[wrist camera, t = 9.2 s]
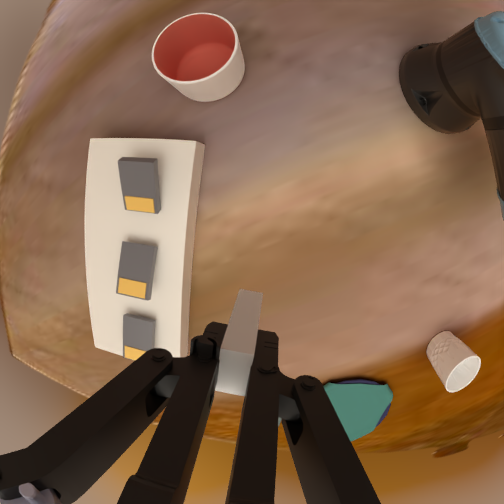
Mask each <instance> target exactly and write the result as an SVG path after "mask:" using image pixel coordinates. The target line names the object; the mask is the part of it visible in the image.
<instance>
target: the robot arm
mask: <svg viewBox="0 0 504 504" xmlns="http://www.w3.org/2000/svg"><path fill="white" fill-rule="evenodd" d="M399 76H400V83H401V87H402V91H403V93H404V96H405V98H406V100H407V102H408V104H409V105H410V107H411V108H412V110H413V111H414V113H415V114H416V115H417V116H418V117H419V118H420V119H421V120H422V121H423V122H424V123H425V124H426V125H428V126H429V127H431V128H432V129H434V130H436V131H439V132H442V133H448V134H451V133H458V132H463V131H465V130H467V129H469V128H470V127H471V126H472V125H473V124H474V123H475V122H476V121H477V120H479V119H480V118H482V121H483V125H484V128H485V132H486V136H487V139H488V143H489V148H490V152H491V156H492V161H493V166H494V171H495V176H496V182H497V195H498V197H499V199H500V205H501V211H502V217H503V220H504V12H502V11H496V12H493V13H491V14H489V15H487V16H485V17H480V18H477V19H476V20H475V21H474V22H473V23H471V24H470V25H468V26H467V27H465V28H464V29H462V30H460V31H459V32H457V33H456V34H454V35H453V36H451V37H450V38H448V39H447V40H446V41H444V42H442V43H430V44H422V45H419V46H416V47H415V48H413V49H412V50H410V51H409V52H408V53H407V54H406V55H405V56H404V57H403V59H402V61H401V64H400V70H399ZM262 296H263V293H260V292H254V291H248V290H243V289H240V290H239V293H238V296H237V299H236V302H235V305H234V308H233V311H232V314H231V317H230V320H229V324H228V325H227V324H222V323H217V322H211V323H210V324H208V325H207V326H206V328H205V331H204V333H203V335H200V336H196V337H194V338H193V339H192V340H191V348H190V356H187V357H173V356H172V354H171V353H170V352H169V351H168V350H166V349H163V348H153V349H150V350H148V351H146V352H145V353H144V354H143V355H142V356H140V357H139V358H138V359H137V360H135V361H134V362H133V363H132V364H131V365H129V366H128V367H127V368H126V369H124V370H123V371H122V372H121V373H120V374H118V375H117V376H116V377H115V378H113V379H112V380H111V381H110V382H108V383H107V384H106V385H105V386H104V387H102V388H101V389H100V390H99V391H97V392H96V393H95V394H94V395H92V396H91V397H90V398H89V399H87V400H86V401H85V402H84V403H83V404H81V405H80V406H79V407H77V408H76V409H75V410H74V411H73V412H71V413H70V414H69V415H68V416H66V417H65V418H64V419H63V420H61V421H60V422H59V423H58V424H56V425H55V426H54V427H52V428H51V429H50V430H49V431H48V432H46V433H45V434H44V435H43V436H41V437H40V438H39V439H37V440H36V441H35V442H34V443H32V444H31V445H30V446H29V447H27V448H25V449H21V450H18V451H15V452H11V453H8V454H4V455H0V502H1V504H71V503H73V502H75V501H76V500H77V499H78V498H79V497H80V496H82V495H83V494H84V493H85V492H86V491H87V490H88V489H89V488H90V487H91V486H92V485H93V484H94V483H95V482H96V481H97V480H98V479H99V478H100V477H101V476H102V475H103V474H104V473H105V472H106V471H107V470H108V469H109V468H110V467H111V466H112V465H113V464H114V463H115V461H116V460H117V459H118V458H119V457H120V456H121V455H122V454H123V453H124V452H125V451H126V450H127V449H128V448H129V446H131V444H132V443H133V442H134V441H135V440H136V439H137V438H138V437H139V436H140V435H141V433H143V431H144V430H145V429H146V428H147V427H148V426H149V425H150V424H151V423H152V422H153V420H154V419H155V418H156V417H157V416H158V415H159V414H160V413H161V412H162V410H163V409H164V408H165V407H166V408H165V411H164V413H163V415H162V417H161V420H160V422H159V424H158V426H157V428H156V431H155V433H154V435H153V438H152V440H151V442H150V444H149V446H148V449H147V451H146V453H145V456H144V458H143V460H142V462H141V464H140V467H139V469H138V471H137V473H136V474H135V475H132V476H130V478H129V479H128V481H127V482H126V485H125V487H124V489H123V491H122V494H121V496H120V498H119V500H118V503H117V504H183V503H184V500H185V496H186V492H187V489H188V486H189V482H190V479H191V475H192V472H193V468H194V465H195V461H196V458H197V454H198V451H199V448H200V444H201V441H202V437H203V434H204V430H205V427H206V423H207V420H208V416H209V413H210V409H211V406H212V402H213V399H214V391H220V392H225V393H230V394H235V395H241V396H245V398H244V403H243V408H242V412H241V413H242V414H241V420H240V426H239V431H238V437H237V443H236V448H235V454H234V459H233V465H232V470H231V475H230V481H229V486H228V491H227V497H226V502H225V504H274V494H275V477H276V460H277V440H278V417H279V418H281V421H282V425H283V428H284V431H285V435H286V438H287V441H288V444H289V448H290V451H291V454H292V458H293V460H294V464H295V467H296V470H297V474H298V476H299V480H300V483H301V486H302V489H303V493H304V496H305V499H306V502H307V504H381V503H380V501H379V499H378V497H377V495H376V493H375V491H374V488H373V486H372V484H371V483H370V480H369V478H368V476H367V474H366V472H365V470H364V468H363V466H362V464H361V462H360V460H359V458H358V456H357V454H356V452H355V450H354V448H353V446H352V444H351V442H350V439H349V437H348V435H347V433H346V431H345V429H344V427H343V425H342V423H341V421H340V419H339V417H338V415H337V413H336V411H335V409H334V407H333V405H332V403H331V401H330V399H329V397H328V395H327V393H326V391H325V389H324V387H323V385H322V383H321V382H320V381H319V380H318V379H317V378H315V377H312V376H308V375H303V376H299V377H297V378H296V379H292V378H289V377H287V376H285V375H284V374H282V373H281V372H280V370H279V367H278V340H279V338H278V336H277V335H276V333H275V332H269V331H264V330H258V325H259V318H260V311H261V304H262Z"/></svg>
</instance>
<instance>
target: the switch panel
mask: <svg viewBox="0 0 504 504" xmlns="http://www.w3.org/2000/svg"><path fill="white" fill-rule="evenodd" d="M204 151H205V144H202V143H200V142H197V141H189V140H172V139H148V138H94V139H90V146H89V155H88V165H87V177H86V193H85V260H86V277H87V289H88V299H89V308H90V316H91V324H92V330H93V337H94V343H95V347H97V348H100V349H103V350H106V351H109V352H112V353H115V354H118V355H122V356H123V315H124V314H126V313H129V314H133V315H137V316H141V317H145V318H149V319H154V320H156V326H155V347H154V348H163V349H166V350H168V351H169V352H170V353H171V354H172V356H173V357H186V356H187V354H188V329H189V308H190V291H191V276H192V262H193V250H194V239H195V228H196V218H197V208H198V199H199V190H200V182H201V174H202V166H203V158H204ZM122 157H139V158H157V159H158V175H159V188H160V200H161V210H160V212H159V213H158V214H154V213H146V212H138V211H129V210H125V207H124V201H123V195H122V189H121V183H120V176H119V168H118V160H119V159H120V158H122ZM122 241H125V242H131V243H138V244H144V245H150V246H156V247H158V249H157V256H156V263H155V270H154V277H153V285H152V294H151V300H148V301H147V300H142V299H138V298H134V297H129V296H125V295H121V294H116V286H117V277H118V269H119V261H120V253H121V247H122Z"/></svg>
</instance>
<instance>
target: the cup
mask: <svg viewBox="0 0 504 504" xmlns="http://www.w3.org/2000/svg"><path fill="white" fill-rule="evenodd" d="M152 62H153V65H154V68H155V70H156V71H157V72H158V74H159V75H160V76H162V77H163V78H164V79H165V80H166V81H168V82H169V83H170V84H171V85H172V86H174V87H175V88H176V89H177V90H178V91H180V92H181V93H182V94H183V95H185V96H186V97H188V98H190V99H192V100H195V101H200V102H210V101H216V100H219V99H221V98H224V97H226V96H227V95H229V94H230V93H232V92H233V91H234V90H235V89H236V88H237V87H238V85H239V84H240V82H241V80H242V78H243V76H244V71H245V63H244V59H243V55H242V51H241V47H240V43H239V39H238V35H237V32H236V30H235V28H234V26H233V25H232V24H231V23H230V22H229V21H228V20H226V19H225V18H223V17H221V16H219V15H216V14H211V13H194V14H190V15H186V16H183V17H181V18H179V19H177V20H175V21H173V22H172V23H170V24H169V25H168V26H167V27H166V28H165V29H164V30H163V31H162V32H161V33H160V34H159V36H158V37H157V39H156V41H155V43H154V46H153V49H152Z"/></svg>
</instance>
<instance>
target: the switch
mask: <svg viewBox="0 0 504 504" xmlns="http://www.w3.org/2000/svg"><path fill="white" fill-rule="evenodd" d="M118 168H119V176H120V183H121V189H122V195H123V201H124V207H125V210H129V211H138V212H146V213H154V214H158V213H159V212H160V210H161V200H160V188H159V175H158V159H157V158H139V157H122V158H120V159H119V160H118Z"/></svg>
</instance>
